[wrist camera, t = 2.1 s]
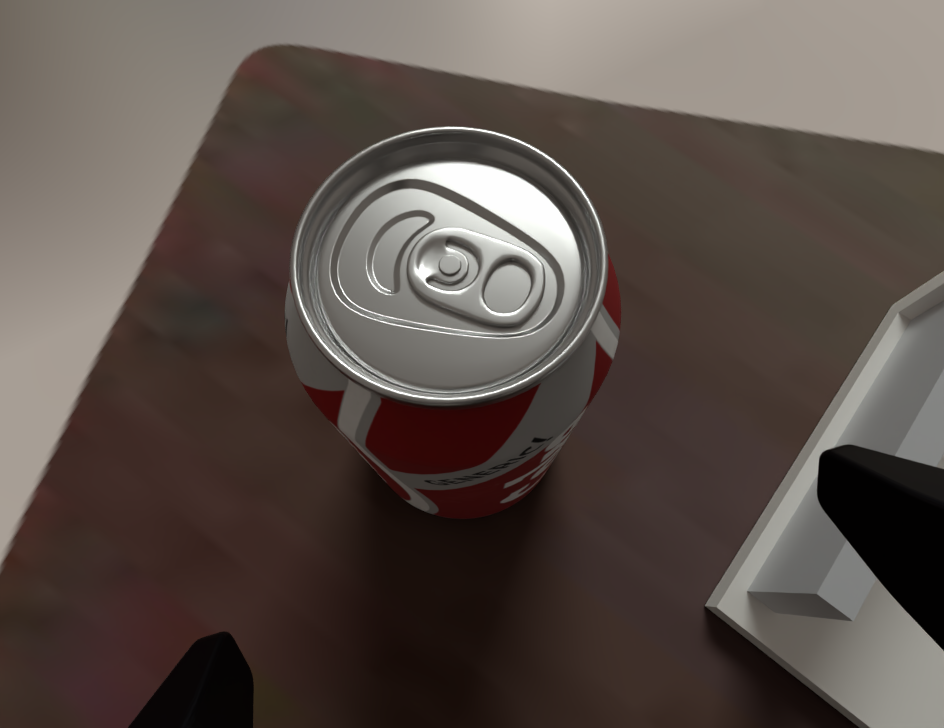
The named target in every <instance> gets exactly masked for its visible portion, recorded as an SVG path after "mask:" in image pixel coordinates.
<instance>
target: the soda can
mask: <svg viewBox="0 0 944 728" xmlns="http://www.w3.org/2000/svg"><path fill="white" fill-rule="evenodd" d="M289 268H290V280H289V284H288V289H287V295H286V303H285V330H286V337H287V343H288V348H289V352H290V356H291V359H292V362H293V365H294V367H295V370H296V372H297V375H298V377H299V379H300V381H301V383H302V385H303V386H304V388H305V390H306V392H307V393H308V395H309V396H310V398H311V399H312V401H313V402H314V403H315V405H316V406H317V407H318V408H319V409H320V411H321V412H322V413H323V414H324V415H325V417H326V418H327V419H328V420H329V421H330V422H331V423H332V424H333V425H334V426H335V427H336V429H337V430H338V431H339V432H340V433H341V434H342V435H343V436H344V437H345V438H346V439H347V441H348V442H349V443H350V444H351V445H352V446H353V447H354V448H355V449H356V450H357V452H358V453H359V454H360V455H361V456H362V457H363V458H364V459H365V460H366V461H367V462H368V464H369V465H370V466H371V467H372V468H373V469H374V470H375V471H376V472H377V473H378V474H379V476H380V477H381V478H382V479H383V480H384V481H385V482H386V483H387V484H388V485H389V486H390V488H391V489H392V490H393V491H394V492H396V493H397V494H398V495H399V496H400V497H401V498H402V499H404V500H405V501H406V502H408V503H409V504H411V505H413V506H414V507H416V508H418V509H420V510H422V511H424V512H427V513H430V514H432V515H436V516H440V517H444V518H451V519H474V518H480V517H485V516H489V515H492V514H495V513H498V512H500V511H503V510H505V509H507V508H509V507H511V506H512V505H514V504H516V503H517V502H519V501H520V500H521V499H523V498H524V497H525V496H526V495H527V494H529V493H530V492H531V491H532V490H533V489H534V488H535V486H536V485H537V484H538V483H539V482H540V480H541V479H542V478H543V476H544V475H545V473H546V472H547V470H548V468H549V467H550V465H551V464H552V462H553V461H554V459H555V457H556V456H557V454H558V453H559V451H560V450H561V448H562V446H563V445H564V443H565V442H566V440H567V439H568V437H569V436H570V434H571V432H572V431H573V429H574V428H575V426H576V425H577V423H578V421H579V420H580V418H581V417H582V415H583V414H584V412H585V410H586V409H587V407H588V406H589V404H590V403H591V401H592V399H593V398H594V396H595V395H596V393H597V392H598V390H599V388H600V386H601V385H602V383H603V381H604V379H605V377H606V375H607V373H608V371H609V368H610V366H611V363H612V361H613V358H614V355H615V351H616V348H617V344H618V338H619V333H620V323H621V301H620V292H619V286H618V281H617V277H616V274H615V270H614V267H613V264H612V262H611V259H610V257H609V254H608V249H607V242H606V237H605V233H604V229H603V226H602V223H601V220H600V218H599V215H598V213H597V211H596V209H595V207H594V205H593V203H592V201H591V199H590V198H589V196H588V195H587V193H586V192H585V190H584V189H583V188H582V186H581V185H580V184H579V183H578V181H577V180H576V179H575V178H574V177H573V176H572V175H571V174H570V173H569V172H568V171H567V170H566V169H565V168H564V167H563V166H562V165H560V164H559V163H558V162H557V161H556V160H554V159H553V158H551V157H550V156H549V155H547V154H546V153H544V152H543V151H541V150H539V149H537V148H536V147H534V146H532V145H530V144H528V143H526V142H524V141H521V140H519V139H516V138H514V137H511V136H508V135H505V134H502V133H498V132H494V131H490V130H485V129H480V128H471V127H456V126H447V127H432V128H424V129H419V130H414V131H409V132H405V133H402V134H398V135H395V136H392V137H389V138H387V139H384V140H382V141H379V142H377V143H375V144H373V145H371V146H369V147H367V148H365V149H364V150H362V151H360V152H358V153H357V154H355V155H354V156H352V157H351V158H350V159H348V160H347V161H345V162H344V163H343V164H342V165H340V166H339V167H338V168H337V169H336V170H335V171H333V172H332V173H331V175H330V176H329V177H328V178H327V179H326V180H325V181H324V182H323V183H322V184H321V185H320V187H319V188H318V189H317V190H316V192H315V193H314V195H313V196H312V198H311V199H310V201H309V202H308V204H307V206H306V207H305V209H304V211H303V213H302V215H301V217H300V220H299V222H298V225H297V227H296V231H295V234H294V238H293V241H292V247H291V253H290V267H289Z"/></svg>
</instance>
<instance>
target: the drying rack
mask: <svg viewBox="0 0 944 728" xmlns="http://www.w3.org/2000/svg"><path fill="white" fill-rule="evenodd" d="M846 444H851V445H856V446H859V447H863V448H867V449H871V450H874V451H878V452H882V453H886V454H889V455H893V456H897V457H901V458H904V459H908V460H912V461H916V462H919V463H923V464H927V465H931V466H934V467H938V468H942V469H944V271H943V272H941V273H940V274H938V275H937V276H935V277H934V278H932V279H931V280H929V281H928V282H926V283H925V284H923V285H922V286H920V287H919V288H917V289H916V290H914V291H913V292H911V293H910V294H908V295H907V296H905V297H904V298H902V299H901V300H899V301H898V302H896V303H895V304H893V305H892V306H891V308H890V309H889V311H888V313H887V314H886V316H885V317H884V319H883V321H882V322H881V324H880V325H879V327H878V329H877V330H876V332H875V333H874V335H873V337H872V338H871V340H870V342H869V343H868V345H867V346H866V348H865V350H864V351H863V353H862V354H861V356H860V358H859V359H858V361H857V362H856V364H855V366H854V367H853V369H852V370H851V372H850V374H849V375H848V377H847V378H846V380H845V382H844V383H843V385H842V386H841V388H840V390H839V391H838V393H837V394H836V396H835V398H834V399H833V401H832V402H831V404H830V406H829V407H828V409H827V410H826V412H825V414H824V415H823V417H822V418H821V420H820V422H819V423H818V425H817V427H816V428H815V430H814V431H813V433H812V435H811V436H810V438H809V439H808V441H807V443H806V444H805V446H804V447H803V449H802V451H801V452H800V454H799V455H798V457H797V459H796V460H795V462H794V463H793V465H792V467H791V468H790V470H789V471H788V473H787V475H786V476H785V478H784V479H783V481H782V483H781V484H780V486H779V487H778V489H777V491H776V492H775V494H774V495H773V497H772V499H771V500H770V502H769V503H768V505H767V507H766V508H765V510H764V511H763V513H762V515H761V516H760V518H759V520H758V521H757V523H756V524H755V526H754V528H753V529H752V531H751V532H750V534H749V536H748V537H747V539H746V540H745V542H744V544H743V545H742V547H741V548H740V550H739V552H738V553H737V555H736V556H735V558H734V560H733V561H732V563H731V564H730V566H729V568H728V569H727V571H726V572H725V574H724V576H723V577H722V579H721V580H720V582H719V584H718V585H717V587H716V588H715V590H714V592H713V593H712V595H711V596H710V598H709V600H708V601H707V603H706V605H705V606H706V607H707V608H708V609H709V610H711V611H712V612H713V613H714V614H716V615H717V616H718V617H720V618H721V619H722V620H723V621H725V622H726V623H727V624H728V625H730V626H731V627H732V628H733V629H735V630H736V631H737V632H739V633H740V634H741V635H742V636H744V637H745V638H746V639H747V640H749V641H750V642H751V643H753V644H754V645H755V646H756V647H758V648H759V649H760V650H761V651H763V652H764V653H765V654H767V655H768V656H769V657H770V658H772V659H773V660H774V661H775V662H777V663H778V664H779V665H780V666H782V667H783V668H784V669H786V670H787V671H788V672H789V673H791V674H792V675H793V676H794V677H796V678H797V679H798V680H800V681H801V682H802V683H803V684H805V685H806V686H807V687H808V688H810V689H811V690H812V691H813V692H815V693H816V694H817V695H819V696H820V697H821V698H822V699H824V700H825V701H826V702H827V703H829V704H830V705H831V706H833V707H834V708H835V709H836V710H838V711H839V712H840V713H841V714H843V715H844V716H845V717H847V718H848V719H849V720H850V721H852V722H853V723H854V724H855V725H857V726H858V727H859V728H944V651H943V650H942V649H941V648H940V647H939V645H938V644H937V643H936V642H935V641H934V640H933V639H932V638H931V637H930V636H929V635H928V634H927V633H926V632H925V631H924V630H923V629H922V628H921V627H920V626H919V624H918V623H917V622H916V621H915V620H914V619H913V618H912V617H911V616H910V615H909V614H908V613H907V612H906V611H905V610H904V609H903V608H902V606H901V605H900V604H899V603H898V602H897V601H896V600H895V599H894V598H893V597H892V595H891V594H890V593H889V592H888V591H887V590H886V588H885V587H884V586H883V585H882V584H881V582H880V581H879V580H878V579H877V578H876V576H875V575H874V574H873V572H872V571H871V570H870V569H869V567H868V566H867V565H866V564H865V562H864V561H863V560H862V559H861V557H860V556H859V555H858V554H857V552H856V551H855V550H854V548H853V547H852V546H851V545H850V543H849V542H848V541H847V540H846V538H845V537H844V536H843V535H842V533H841V532H840V531H839V530H838V528H837V527H836V526H835V524H834V523H833V522H832V521H831V519H830V518H829V517H828V516H827V514H826V513H825V512H824V510H823V509H822V507H821V506H820V504H819V501H818V498H817V480H818V465H819V457H820V455H821V454H822V452H824V451H825V450H828V449H831V448H834V447H838V446H841V445H846Z"/></svg>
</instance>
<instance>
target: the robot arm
mask: <svg viewBox="0 0 944 728" xmlns="http://www.w3.org/2000/svg"><path fill="white" fill-rule="evenodd" d="M817 498H818V501H819V504H820V506H821V507H822V509H823V510H824V512H825V513H826V514H827V516H828V517H829V518H830V519H831V521H832V522H833V523H834V524H835V526H836V527H837V528H838V530H839V531H840V532H841V533H842V535H843V536H844V537H845V538H846V540H847V541H848V542H849V543H850V545H851V546H852V547H853V548H854V550H855V551H856V552H857V554H858V555H859V556H860V557H861V559H862V560H863V561H864V562H865V564H866V565H867V566H868V567H869V569H870V570H871V571H872V572H873V574H874V575H875V576H876V578H877V579H878V580H879V581H880V582H881V584H882V585H883V586H884V587H885V588H886V590H887V591H888V592H889V593H890V594H891V595H892V597H893V598H894V599H895V600H896V601H897V602H898V603H899V604H900V605H901V606H902V608H903V609H904V610H905V611H906V612H907V613H908V614H909V615H910V616H911V617H912V618H913V619H914V620H915V621H916V622H917V623H918V624H919V626H920V627H921V628H922V629H923V630H924V631H925V632H926V633H927V634H928V635H929V636H930V637H931V638H932V639H933V640H934V641H935V642H936V643H937V644H938V645H939V647H940V648H941V649H942V650H943V651H944V469H942V468H938V467H934V466H931V465H927V464H923V463H919V462H916V461H912V460H908V459H904V458H901V457H897V456H893V455H889V454H886V453H882V452H878V451H874V450H871V449H867V448H863V447H859V446H856V445H851V444H846V445H841V446H838V447H834V448H831V449H828V450H825V451H824V452H822V454H821V455H820V457H819V465H818V480H817ZM253 693H254V685H253V677H252V673H251V670H250V667H249V665H248V664H247V662H246V660H245V658H244V656H243V654H242V653H241V651H240V649H239V647H238V645H237V644H236V642H235V640H234V638H233V637H232V635H231V634H230V633H228V632H219V633H216V634H213V635H210V636H206V637H203V638H200V639H198V640H197V641H196V642H194V644H193V645H192V646H191V647H190V648H189V650H188V651H187V652H186V653H185V655H184V656H183V657H182V659H181V660H180V661H179V662H178V664H177V665H176V666H175V668H174V669H173V670H172V671H171V673H170V674H169V675H168V677H167V678H166V679H165V680H164V682H163V683H162V684H161V686H160V687H159V688H158V689H157V691H156V692H155V693H154V695H153V696H152V697H151V698H150V700H149V701H148V702H147V704H146V705H145V706H144V707H143V709H142V710H141V711H140V713H139V714H138V715H137V716H136V718H135V719H134V720H133V721H132V723H131V724H130V725H129V727H128V728H253Z"/></svg>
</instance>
